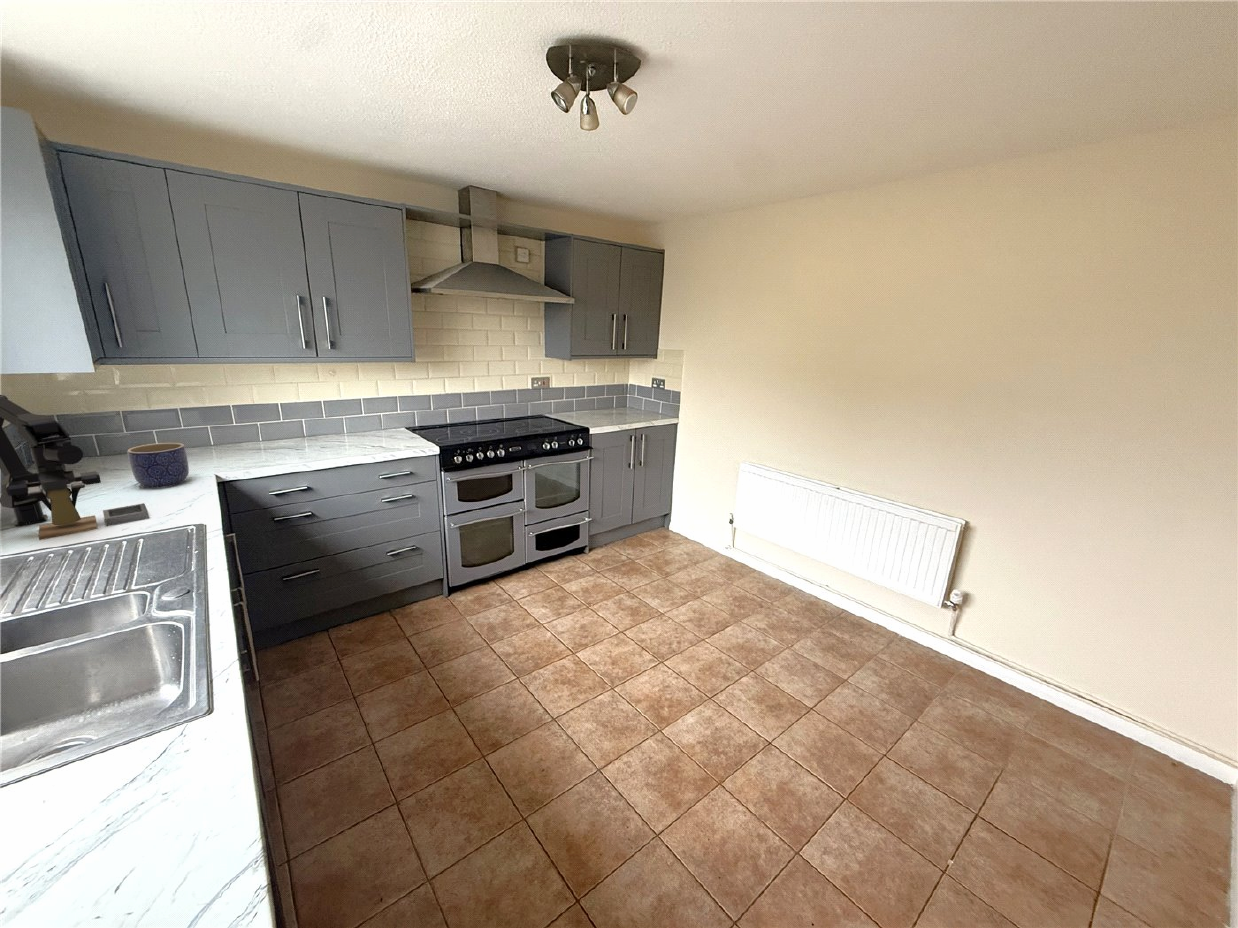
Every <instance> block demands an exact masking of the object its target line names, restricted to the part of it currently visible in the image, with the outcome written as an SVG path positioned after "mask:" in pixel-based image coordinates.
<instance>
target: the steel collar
mask: <svg viewBox="0 0 1238 928" xmlns="http://www.w3.org/2000/svg"><path fill="white" fill-rule="evenodd" d="M102 512H103V519H104V521H105V526H106V527H111V526H115V525H122V524H127V523H132V522H137V521H141V520H147V519H150V515H149V511H148V508H147V506H146V504H145V502H143V503H138V504H131V505H126V506H121V507H115V508H114V507H113V508H108V509H102Z"/></svg>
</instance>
